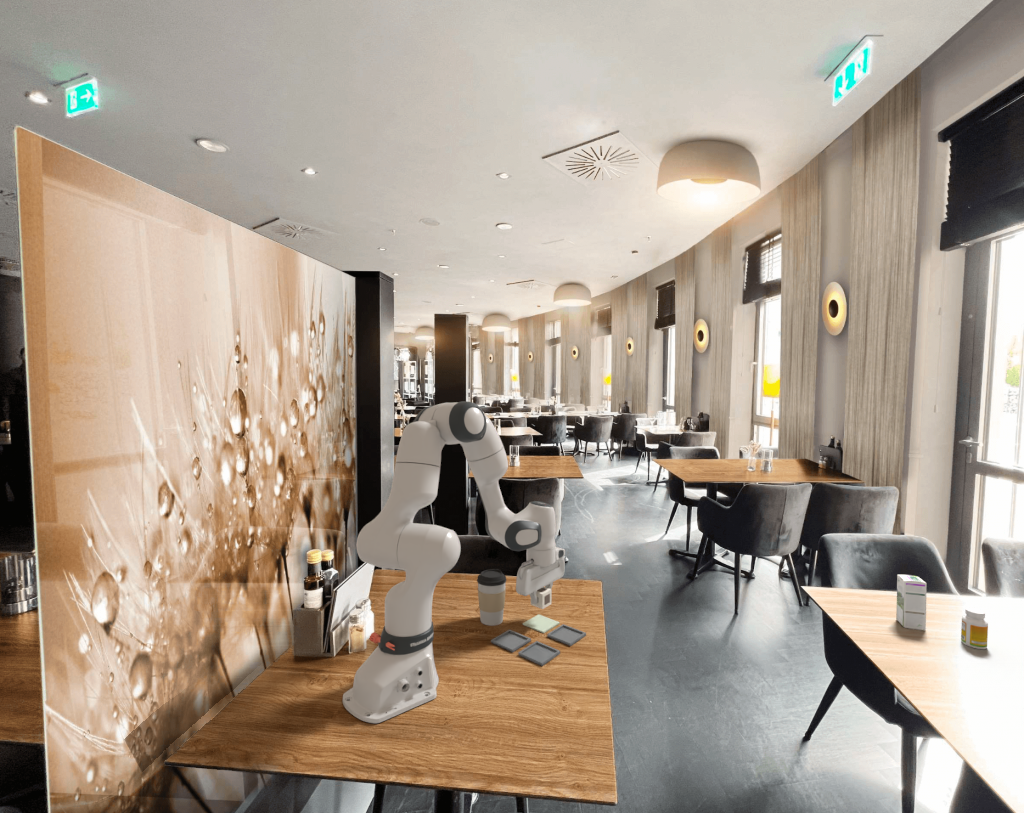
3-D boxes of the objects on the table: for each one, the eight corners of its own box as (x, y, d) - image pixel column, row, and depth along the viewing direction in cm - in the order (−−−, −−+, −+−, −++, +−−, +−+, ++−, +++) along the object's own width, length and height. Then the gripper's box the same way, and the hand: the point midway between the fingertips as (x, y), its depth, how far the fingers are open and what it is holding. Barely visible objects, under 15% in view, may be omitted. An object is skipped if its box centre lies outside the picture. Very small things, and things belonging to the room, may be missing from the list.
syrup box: (926, 631, 147) (928, 582, 147) (902, 627, 149) (904, 580, 149) (917, 622, 153) (919, 575, 152) (894, 619, 155) (896, 573, 154)
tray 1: (512, 652, 134) (512, 649, 134) (490, 642, 140) (490, 639, 139) (530, 641, 140) (531, 638, 140) (509, 632, 146) (509, 629, 146)
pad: (543, 633, 145) (543, 631, 145) (522, 624, 150) (522, 623, 150) (559, 623, 151) (559, 622, 151) (538, 615, 156) (538, 614, 156)
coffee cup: (493, 630, 147) (493, 580, 146) (470, 621, 152) (470, 573, 151) (512, 619, 154) (512, 571, 153) (489, 611, 159) (489, 564, 159)
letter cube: (542, 609, 148) (542, 594, 147) (530, 604, 150) (530, 589, 150) (551, 604, 151) (551, 589, 151) (539, 599, 154) (539, 585, 154)
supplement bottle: (991, 648, 138) (993, 613, 137) (978, 651, 136) (980, 616, 136) (968, 638, 143) (970, 605, 143) (956, 641, 141) (957, 607, 141)
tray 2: (542, 666, 128) (542, 663, 128) (518, 655, 133) (518, 652, 133) (560, 653, 134) (560, 650, 134) (536, 643, 139) (536, 640, 139)
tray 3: (570, 646, 138) (570, 643, 138) (547, 636, 143) (547, 634, 143) (586, 635, 144) (586, 632, 144) (563, 626, 149) (563, 624, 149)
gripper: (527, 567, 140) (527, 615, 141) (568, 548, 156) (568, 592, 156) (510, 562, 144) (510, 608, 145) (551, 544, 160) (551, 586, 160)
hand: (540, 600), depth 151 cm, fingers closed on letter cube, 4 cm apart
